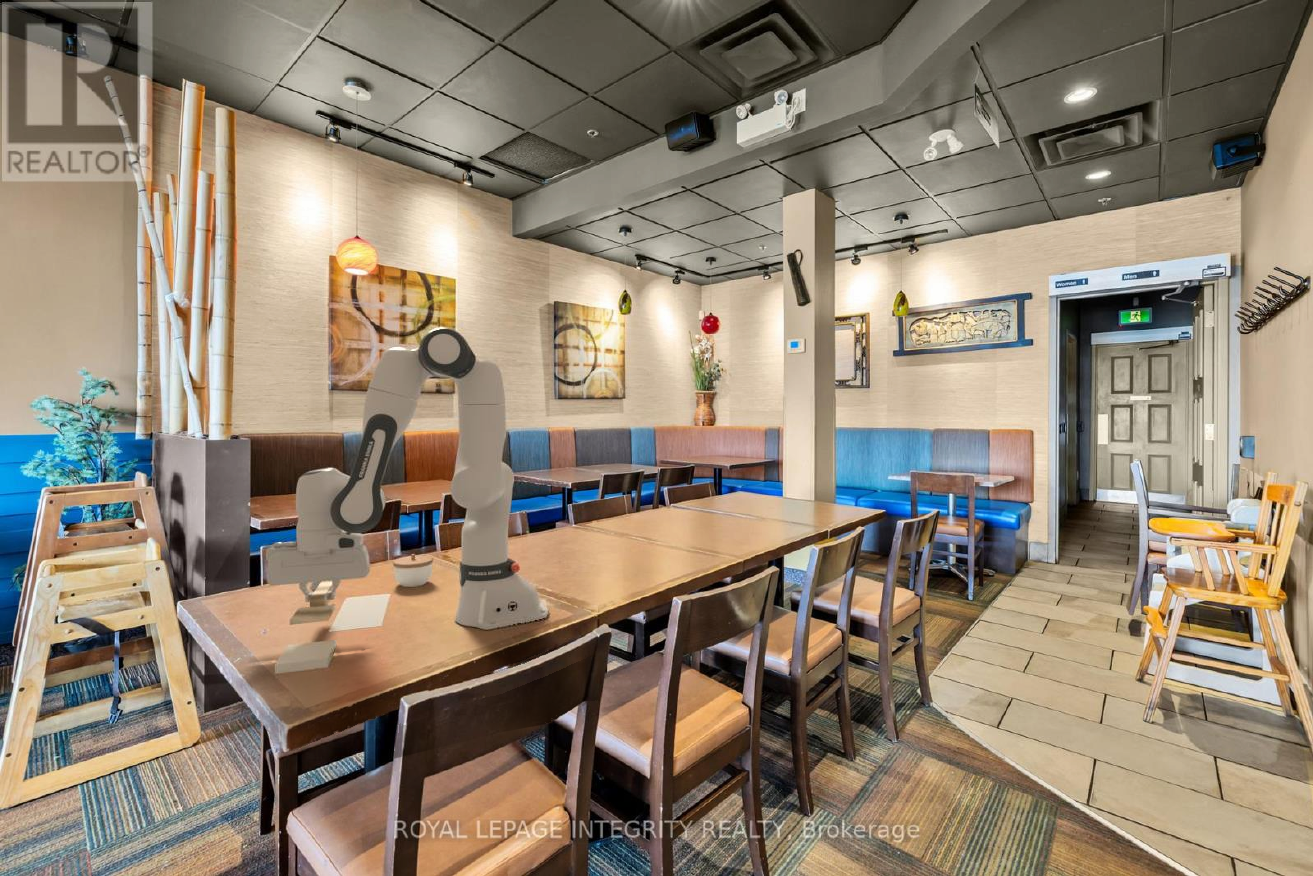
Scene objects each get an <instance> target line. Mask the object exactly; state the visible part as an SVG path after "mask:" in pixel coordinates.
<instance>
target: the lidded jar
mask: <svg viewBox="0 0 1313 876" xmlns="http://www.w3.org/2000/svg"><path fill="white" fill-rule="evenodd" d="M433 562H434V559H433V557H432V556H429V555H421V554H420V555H416V553H412V554H411V555H409V556H408V555H407V556H402V557H398V558H396V559H395V560H393V561H392V564H393V574H394V578H395V581H396V582H397V583H398V584H399V586H401V587H404V588H417V587H422V586H424V585H426V584H427V582H428V581H429V580H430V578H431V576H432V573H433Z"/></svg>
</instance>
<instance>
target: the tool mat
mask: <svg viewBox="0 0 1313 876" xmlns="http://www.w3.org/2000/svg"><path fill="white" fill-rule="evenodd" d="M390 597H391V593H384V594H382V593H381V594H372V595H363V596H362V595H361V596H351V597H350V596H349V597H345V598H344V602H343V603H342V605H341V607H340V609H339V611H338V613H337V614H336V616H335V619H334V620H333V622H332V624H331V626H330V628H329V630H328V633H331V632H332V633H333V632H340V631H350V630H358V629H367V628H370V629H371V628H379V627H383V626H382V625H383V622H384V618H385V616H386V613H387V609H388V606H389V601H390Z"/></svg>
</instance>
